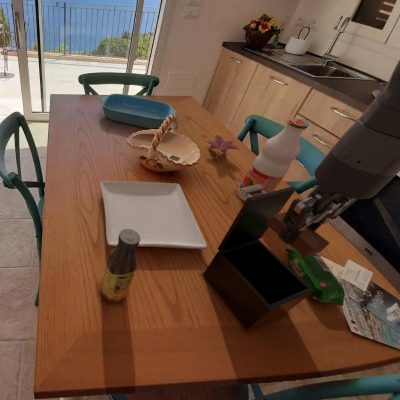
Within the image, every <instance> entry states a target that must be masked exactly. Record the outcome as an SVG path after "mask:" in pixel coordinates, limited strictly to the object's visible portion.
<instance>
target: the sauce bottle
mask: <svg viewBox="0 0 400 400" xmlns="http://www.w3.org/2000/svg"><path fill="white" fill-rule="evenodd" d="M139 242H140V236H139V234H138V233H137V232H136V231H134V230H132V229H124V230H122V231H121V232H120V234H119V237H118V245H117V246H114V247H113V248H112V249H111V250H110V252H109V254H108V258H107V260H106V264H105V267H104V273H103V277H102V281H101V287H100V290H101V294H102V296H103V298H104V299H105V300H106V301H108V302H111V303H118V302H119V303H120V302H121V301H123V300H124V299H125V297H126V296H127V294H128V292H129V289H130V287H131V283H132V281H133V279H134V275H135V274H136V271H137V267H138V264H137V258H136V251H137V248H138V247H137V246H138V245H139Z"/></svg>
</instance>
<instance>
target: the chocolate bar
mask: <svg viewBox="0 0 400 400" xmlns="http://www.w3.org/2000/svg"><path fill="white" fill-rule="evenodd" d="M286 212H287V211H285V212H282V213H279V214H278V215H274V216H273V217H272V218H271V219H270V221H269V222H268V223H267V226H268V228H269V229H271V230H272V231H273V232H274V233H275V234H277V235H279V234H280V233H281V231H282V230H283V229H284V228H285V227H286V226H287V225H286V224H285V223H283V222H282V220H283V218H284V216H285V214H286ZM288 245H289V246H291V248H292V249H293V250H296V251H298V252H299V253H300V254H301V255H302V256H303V257H305V258H306V257H308V256H311V255H314V254H319V253H321V252H322V251H323V250H324V249H326V248H327V247H328V246H329V245H330V242H329V241H328V240H327V239H326V238H325V237H323V235H320V234H319V233H317V232H316V231H314V230H312V229H311V228H310V227H307V228H306V230H304V231H303V232H302V233H301V234H300V235H299V236H298V237H297V238H296V239H295V240H294V241H293V242H292V243H291V244H288Z"/></svg>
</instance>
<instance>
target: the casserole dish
mask: <svg viewBox="0 0 400 400" xmlns="http://www.w3.org/2000/svg"><path fill="white" fill-rule="evenodd" d="M100 103H102V110H103V114H104V116H105V117H106V118H107V119H108V120H110V121H113V122H117V123H122V124H126V125H132V126H134V127H141V128H145V129H150V130H154V129H153V128H159V127H160V126H161V124H162V123H163V121H164V120H165V118H166V117H167V116H169V115H171V114H173V115H175V116H176V115H177V110H176V109H174V108H173V106H172V105H171V104H170V103H168V102H164V101H160V100H156V99H150V98H146V97H141V96H135V95H130V94H123V93H111V94H108V95H104V96H102V97H101V98H100Z"/></svg>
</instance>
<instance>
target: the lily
mask: <svg viewBox="0 0 400 400" xmlns="http://www.w3.org/2000/svg"><path fill="white" fill-rule="evenodd" d="M204 142H205V143H207V144H209V145H210V146H209V147H208V150H217V154H216V157H215V160H217V159H218V156H219V153H220V152H221V153H223V154H224V155H226V154H227V152H228V150H240V148H239V147H238V146H236V145H234V142H235V141H234V140H225V139H224V138H223V136H221V135H219V134H215V136H214V138H213V140H205V141H204Z"/></svg>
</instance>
